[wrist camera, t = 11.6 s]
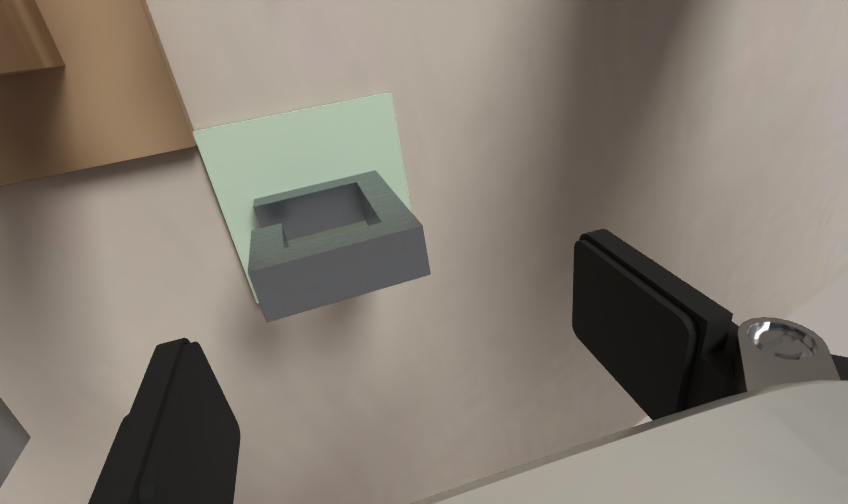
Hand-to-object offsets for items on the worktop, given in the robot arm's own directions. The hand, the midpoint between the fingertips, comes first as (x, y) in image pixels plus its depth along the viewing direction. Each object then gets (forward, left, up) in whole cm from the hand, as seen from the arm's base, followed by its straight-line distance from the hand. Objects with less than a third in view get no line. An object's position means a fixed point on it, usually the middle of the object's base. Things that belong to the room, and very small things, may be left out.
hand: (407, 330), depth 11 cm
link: (+1, +1, -13) cm, 13 cm away
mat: (+1, +1, -14) cm, 14 cm away
